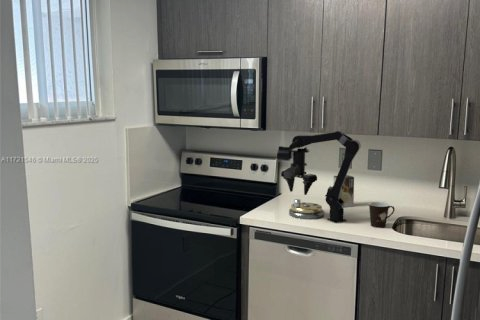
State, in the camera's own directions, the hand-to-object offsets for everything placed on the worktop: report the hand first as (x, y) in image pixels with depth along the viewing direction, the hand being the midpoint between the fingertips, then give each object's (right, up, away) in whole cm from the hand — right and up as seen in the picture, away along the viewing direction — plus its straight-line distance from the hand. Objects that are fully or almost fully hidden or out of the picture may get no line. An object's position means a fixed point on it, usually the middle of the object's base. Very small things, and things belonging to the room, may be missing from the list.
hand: (298, 193), depth 212 cm
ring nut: (+5, -9, +5) cm, 11 cm away
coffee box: (+27, -9, +23) cm, 37 cm away
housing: (+5, -11, +5) cm, 13 cm away
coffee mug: (+36, -14, -14) cm, 41 cm away
